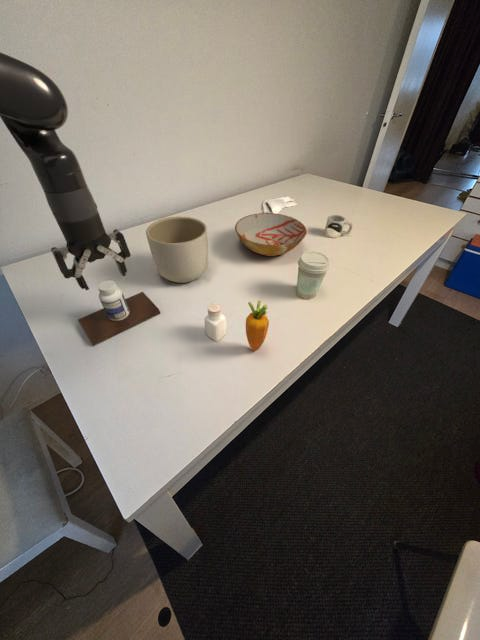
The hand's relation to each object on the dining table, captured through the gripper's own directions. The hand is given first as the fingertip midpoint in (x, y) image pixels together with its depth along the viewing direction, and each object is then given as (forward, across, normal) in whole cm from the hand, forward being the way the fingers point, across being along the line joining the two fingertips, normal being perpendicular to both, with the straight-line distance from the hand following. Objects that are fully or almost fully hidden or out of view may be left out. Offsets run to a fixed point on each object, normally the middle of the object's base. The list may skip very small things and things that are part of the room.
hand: (105, 281), depth 61 cm
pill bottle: (+11, 0, 0) cm, 11 cm away
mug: (+12, -86, +9) cm, 87 cm away
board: (+12, 0, 0) cm, 12 cm away
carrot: (+12, -20, +31) cm, 39 cm away
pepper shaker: (+12, -16, +21) cm, 29 cm away
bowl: (+12, -57, -1) cm, 58 cm away
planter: (+12, -24, -7) cm, 28 cm away
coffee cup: (+12, -47, +25) cm, 55 cm away
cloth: (+12, -88, -27) cm, 93 cm away
